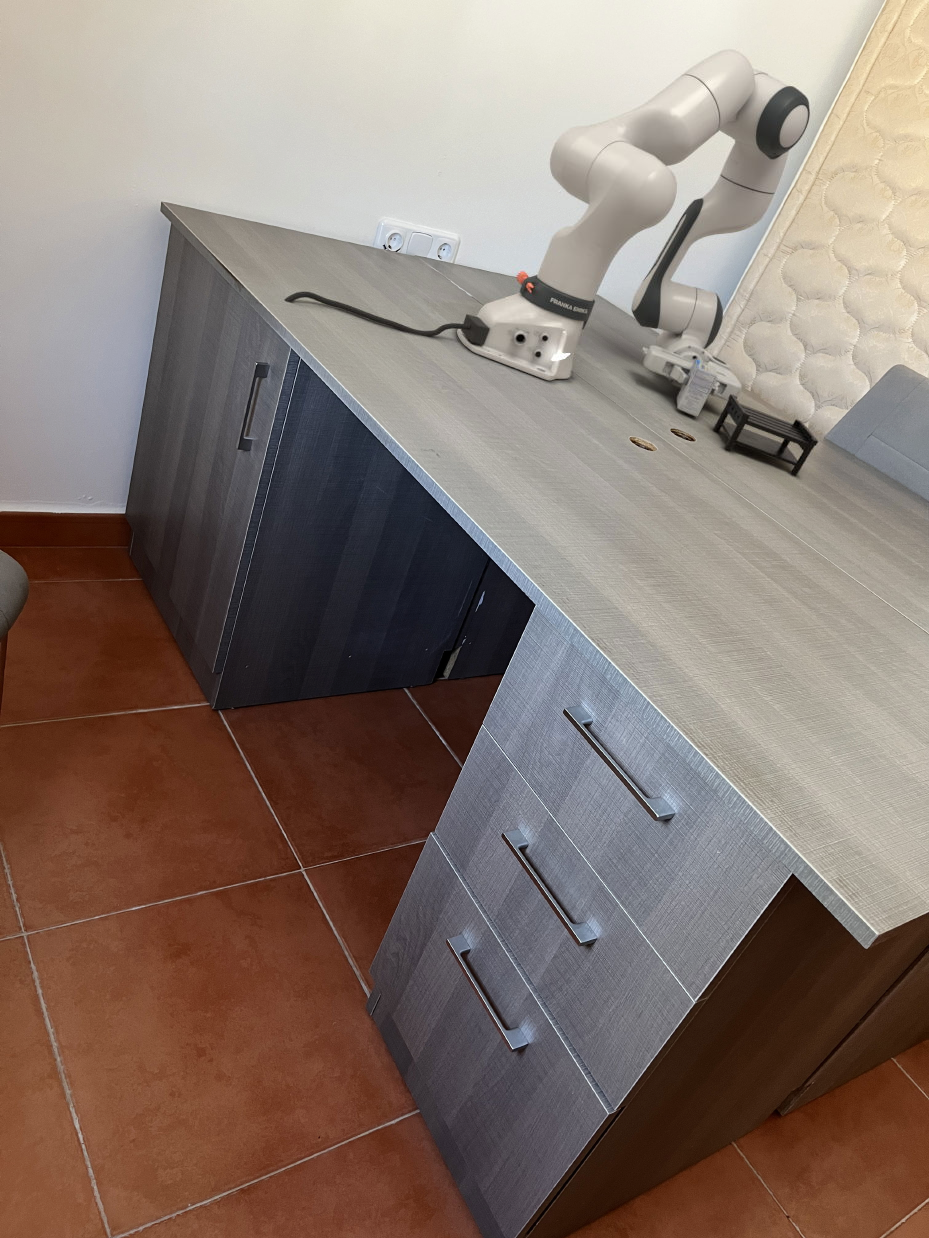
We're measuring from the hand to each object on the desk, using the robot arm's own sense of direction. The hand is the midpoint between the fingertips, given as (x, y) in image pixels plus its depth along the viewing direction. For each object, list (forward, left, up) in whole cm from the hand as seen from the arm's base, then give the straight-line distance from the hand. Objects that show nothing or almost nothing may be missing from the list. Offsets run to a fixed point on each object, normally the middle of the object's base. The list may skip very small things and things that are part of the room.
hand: (699, 386), depth 180 cm
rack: (+10, -12, -6) cm, 17 cm away
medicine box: (0, +1, -5) cm, 5 cm away
